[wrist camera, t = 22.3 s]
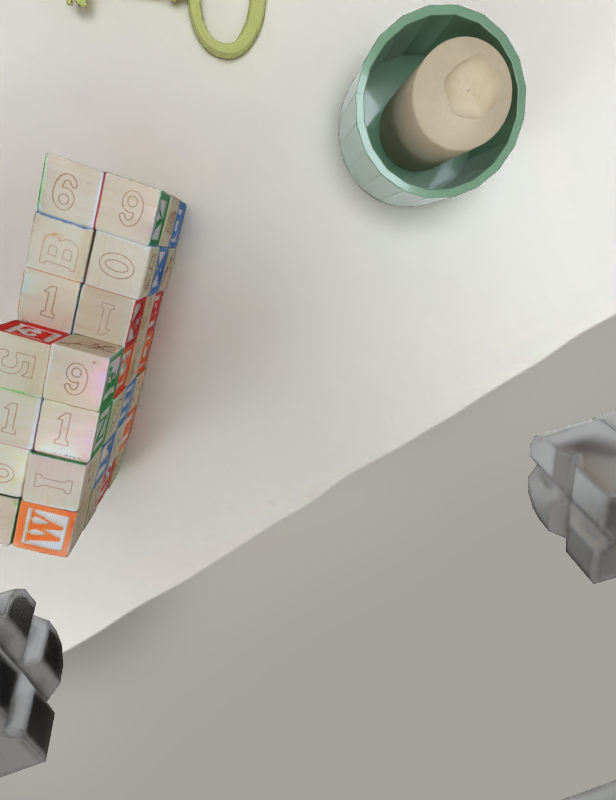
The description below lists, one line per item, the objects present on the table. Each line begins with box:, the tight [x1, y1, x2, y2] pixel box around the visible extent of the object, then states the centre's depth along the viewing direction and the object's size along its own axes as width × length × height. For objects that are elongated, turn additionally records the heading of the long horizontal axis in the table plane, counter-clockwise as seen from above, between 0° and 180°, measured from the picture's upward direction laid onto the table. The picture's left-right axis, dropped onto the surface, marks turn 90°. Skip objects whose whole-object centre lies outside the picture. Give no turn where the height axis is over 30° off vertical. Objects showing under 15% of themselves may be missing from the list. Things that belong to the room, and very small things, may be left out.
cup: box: [339, 5, 526, 207], centre depth 34 cm, size 10×10×7 cm
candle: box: [380, 36, 512, 171], centre depth 32 cm, size 6×6×10 cm
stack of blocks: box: [0, 153, 186, 557], centre depth 34 cm, size 21×6×12 cm, turn 162°
